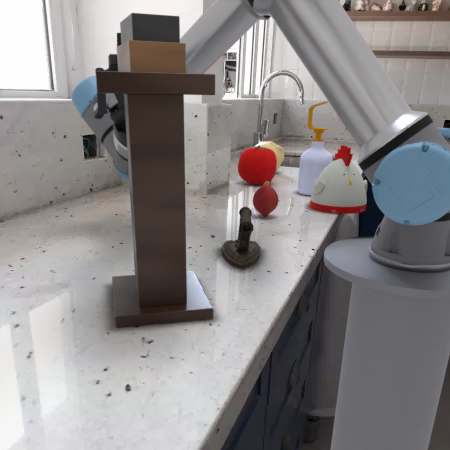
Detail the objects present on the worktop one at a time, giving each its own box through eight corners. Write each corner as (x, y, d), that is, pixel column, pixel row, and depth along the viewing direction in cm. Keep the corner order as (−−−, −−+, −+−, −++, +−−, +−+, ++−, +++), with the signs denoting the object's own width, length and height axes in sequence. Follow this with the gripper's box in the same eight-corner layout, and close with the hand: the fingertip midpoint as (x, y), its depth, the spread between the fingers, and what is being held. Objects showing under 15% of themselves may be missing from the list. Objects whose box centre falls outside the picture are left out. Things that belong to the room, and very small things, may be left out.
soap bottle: (326, 197, 134) (335, 101, 124) (294, 194, 137) (300, 100, 127) (331, 191, 141) (341, 101, 132) (301, 189, 144) (308, 100, 135)
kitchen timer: (322, 214, 114) (328, 148, 109) (302, 202, 127) (306, 142, 121) (375, 212, 117) (385, 148, 111) (351, 201, 130) (358, 142, 124)
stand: (112, 285, 71) (95, 74, 59) (193, 280, 73) (191, 77, 62) (116, 327, 58) (95, 70, 47) (213, 319, 61) (215, 74, 50)
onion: (261, 220, 108) (263, 184, 105) (247, 215, 113) (248, 180, 109) (282, 217, 111) (284, 182, 108) (267, 212, 115) (269, 178, 112)
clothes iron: (259, 250, 89) (268, 201, 83) (261, 286, 80) (271, 233, 74) (221, 246, 88) (228, 196, 82) (219, 281, 79) (226, 228, 73)
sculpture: (287, 172, 175) (289, 141, 170) (267, 175, 166) (268, 143, 162) (263, 168, 182) (264, 138, 177) (242, 172, 174) (243, 140, 169)
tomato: (241, 187, 145) (242, 147, 141) (233, 180, 158) (234, 143, 153) (280, 187, 147) (283, 147, 143) (270, 179, 159) (272, 143, 155)
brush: (104, 77, 70) (101, 34, 68) (145, 78, 72) (143, 36, 70) (130, 72, 50) (127, 11, 48) (186, 74, 52) (185, 15, 50)
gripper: (188, 150, 84) (214, 73, 62) (84, 151, 80) (70, 70, 58) (184, 110, 85) (208, 19, 63) (80, 109, 81) (66, 11, 59)
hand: (142, 44), depth 60 cm, fingers open, 5 cm apart
